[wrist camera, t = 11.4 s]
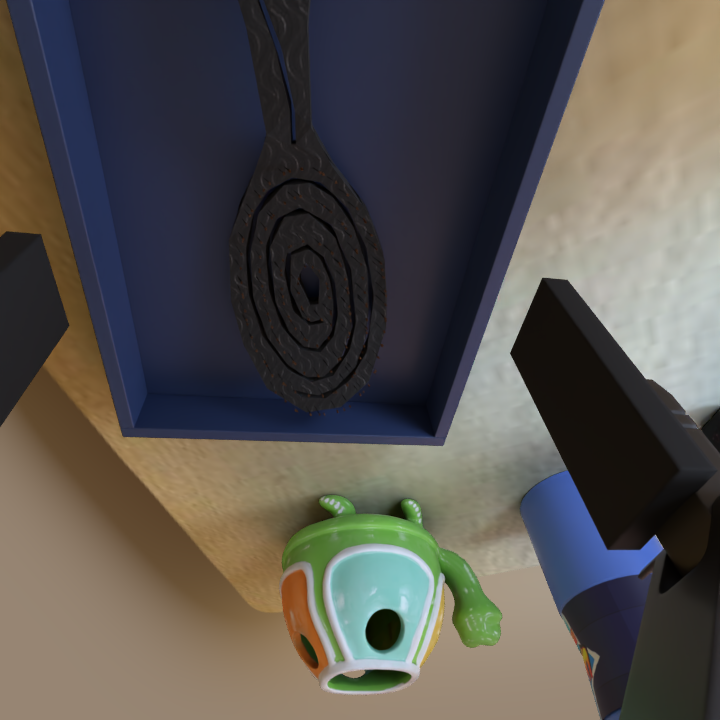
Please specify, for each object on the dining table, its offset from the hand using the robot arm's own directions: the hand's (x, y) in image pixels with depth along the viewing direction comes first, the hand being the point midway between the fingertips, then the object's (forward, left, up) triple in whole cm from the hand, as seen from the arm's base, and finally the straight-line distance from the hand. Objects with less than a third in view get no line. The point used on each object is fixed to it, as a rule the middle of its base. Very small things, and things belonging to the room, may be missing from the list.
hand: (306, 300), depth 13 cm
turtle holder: (+31, +8, -12) cm, 34 cm away
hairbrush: (0, -1, -12) cm, 12 cm away
